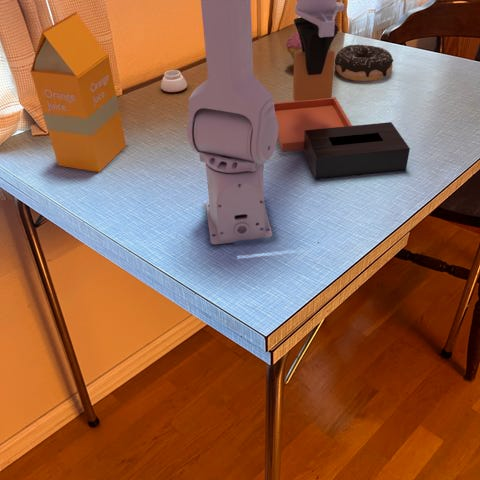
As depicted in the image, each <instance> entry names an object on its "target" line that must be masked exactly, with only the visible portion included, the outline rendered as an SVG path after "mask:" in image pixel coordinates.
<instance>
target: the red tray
mask: <svg viewBox="0 0 480 480" xmlns="http://www.w3.org/2000/svg"><path fill="white" fill-rule="evenodd" d="M274 109H275V115H276V118H277V120H278V138H277V142H278V144H279V146H280V149H281V152H292V151H304V134H305V130H313V129H324V128H334V127H345V126H353V125H352V123H351V121H350V120H349V118H348V116H347V115H346V113H345V111H344V109H343V108H342V106H341V104H340V102H339V101H338V99H337V97H335V96H334V97H333V96H332V97H331V98H326V99H315V100H304V101H294V100H290V101H279V102H278V101H277V102H274Z"/></svg>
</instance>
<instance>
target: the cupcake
mask: <svg viewBox="0 0 480 480" xmlns="http://www.w3.org/2000/svg"><path fill="white" fill-rule="evenodd" d="M299 18H302V17H300V16H299ZM285 45H286V49H287V50H286V51H287V52H289V54H290V55H291V58H292V60H293V61H292V62H294V53H297V52H302V47H301V41H300V37H299V34H298V31H296V32H294V33H293V34H291V35H290V36H289V38H288V39H287V41H286V43H285ZM331 48H332V44H331V45H330V47H329V50H331Z"/></svg>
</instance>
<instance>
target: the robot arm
mask: <svg viewBox="0 0 480 480" xmlns="http://www.w3.org/2000/svg"><path fill="white" fill-rule="evenodd" d="M200 8H201V19H202V28H203V29H202V30H203V38H204V50H205V58H206V72H207V79H205V81H203V82H202V83H200V84H199V85H198V86H197V87H196V88H195V89H194V90H193V91H192V93H191V95H190V96H189V97H188V100H187V103H188V117H187V124H186V135H187V140H188V142H189V145H190V147H191V149H192V150H193V151H194V152H195V153H199V154H198V155H199V161H200V162H202V163H204V164H205V172H206V183H207V193H208V194H207V195H208V201H207V202H206V203H205V210H206V216H207V224H208V231H209V239H210V244H212V245H224V244H234V243H235V242H240V241H248V240H250V241H251V240H257V239H266V238H267V239H269V238H272V237H273V231H272V227H271V223H270V219H269V216H268V212H267V209H266V205H265V194H264V193H265V189H264V186H265V185H264V183H265V182H264V181H265V180H264V164H266V163H267V162H268V161H269V160H270V159H271V158H272V156H273V154H274V153H275V150H276V146H277V143H278V120H277V118H276V115H275V109H274V103H275V100H274V95H273V93H272V92H271V91H270V90H269V89H268V88H267V87H266V86H265V85H264V84H263V83H262V81H259V79H258V78H257V77H256V76H255V74H254V52H253V25H252V0H200ZM344 11H345V4H344V3H343V2H341V1H338V0H296V4H295V6H294V14H295V15H296V16H298V17H296V18H294V19H293V23H294V26H295V28H296V30H297V31H296V32H298V34H299V37H300V41H301V47H302V52H305V59H306V68H307V72H308V75H317V74H321V73H322V71H323V68H324V64H325V60H326V56H327V53H328V50H329V47H330V45H331V46H332V43H333V41H334V39H335V38H336V36H337V35H338V31H339V27H338V26H337V24H336V21H335V19H336V17H337V14H338V13H339V12H344ZM300 17H302V18H300Z"/></svg>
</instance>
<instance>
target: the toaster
mask: <svg viewBox="0 0 480 480" xmlns="http://www.w3.org/2000/svg"><path fill="white" fill-rule="evenodd" d="M410 149H411V148H410V146H409V144H407V142H406V141H405V139H404V138H403V137H402V135H401V134H400V132H399V131H398V130H397V128H396V126H395V125H394V124H393V122H391V121H390V122H379V123H378V122H377V123H368V124H367V123H366V124H357V125H356V124H355V125H352V126H345V127H334V128H324V129H313V130H305V134H304V149H303V153H304V156H305V158H306V160H307V163H308V165H309V168H310V170H311V173H312V175H313V177H314V180H315V181H318V180H320V181H321V180H329V179H339V178H347V177H348V178H350V177H357V176H359V177H360V176H371V175H377V174H389V173H399V172H406V171H407V167H408V161H409V156H410Z"/></svg>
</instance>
